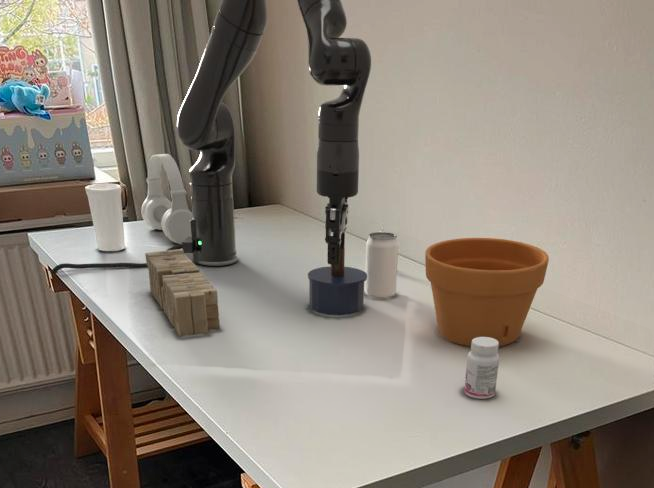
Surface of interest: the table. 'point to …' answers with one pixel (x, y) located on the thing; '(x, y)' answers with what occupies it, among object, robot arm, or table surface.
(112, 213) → the cup
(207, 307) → the block tower
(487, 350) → the pill bottle
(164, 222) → the headphones
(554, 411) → the table surface
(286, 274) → the table surface
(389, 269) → the can
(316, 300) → the pot
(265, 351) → the table surface
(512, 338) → the flower pot
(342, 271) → the lid
